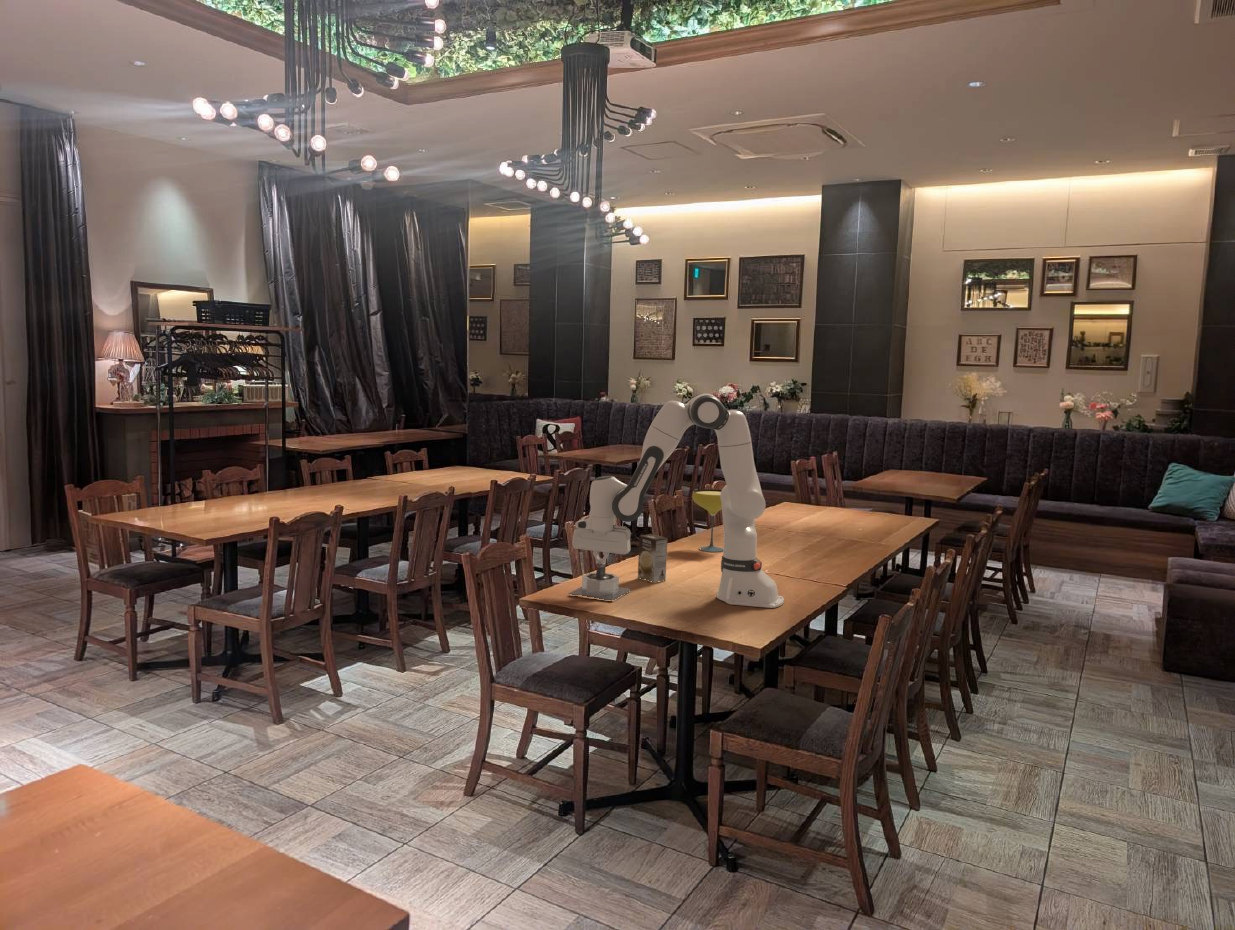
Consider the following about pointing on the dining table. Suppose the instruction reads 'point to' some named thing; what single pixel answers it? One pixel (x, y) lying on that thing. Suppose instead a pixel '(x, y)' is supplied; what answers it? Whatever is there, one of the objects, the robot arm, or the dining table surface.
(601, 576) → the cap
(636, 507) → the robot arm
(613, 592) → the octagonal nut on plate
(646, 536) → the coffee box
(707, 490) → the cocktail glass
